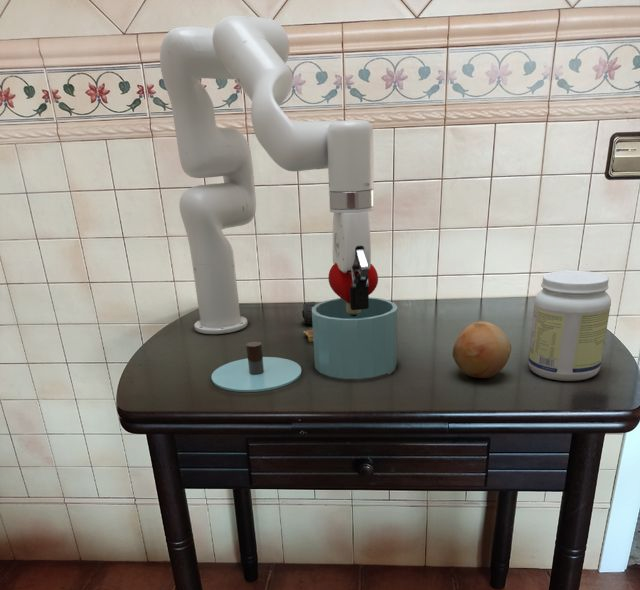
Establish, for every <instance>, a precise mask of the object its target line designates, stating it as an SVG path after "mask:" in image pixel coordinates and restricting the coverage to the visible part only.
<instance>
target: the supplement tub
mask: <svg viewBox="0 0 640 590" xmlns="http://www.w3.org/2000/svg"><path fill="white" fill-rule="evenodd" d="M609 278H610V277H609V276H608V275H607V274H603V273H600V272H596V271H589V270H556V271H551V272H547V273H544V274H543V275H542V281H541V284H540V287H541V288H542V289H540V290H539V291H538V292H537V294H536V296H535V297H534V301H533V302H534V303H533V304H534V305H533V312H532V313H533V315H532V322H531V331H530V340H529V350H528V351H529V352H528V359H527V362H528V366H529V369H530V371H532V373H534V374H535V375H537V376H539V377H541V378H545V379H549V380H554V381H560V382H561V381H562V382H577V381H578V382H579V381H583V380H588V379H590V378H593V377H594V376H596V375H597V374H598V373H599V371H600V369H601V366H602V360H603V353H604V347H605V343H606V342H605V341H606V336H607V329H608V325H609V324H608V323H609V318H610V312H611V306H612V303H611V302H612V298H611V296H610V294H609V293H608V292H606V291H607V290H608V289H609V282H610V281H609V280H610V279H609Z"/></svg>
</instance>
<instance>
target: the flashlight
mask: <svg viewBox="0 0 640 590" xmlns="http://www.w3.org/2000/svg"><path fill="white" fill-rule="evenodd" d="M318 303H319V302H315V301H310V302H306V303H303V304H302V307H303V309H302V311H301V313H302V314H301V315H302V319H303V321H304V325H308V326H313V323H312V307H314V306H315V305H316V304H318Z"/></svg>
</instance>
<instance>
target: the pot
mask: <svg viewBox="0 0 640 590" xmlns="http://www.w3.org/2000/svg"><path fill="white" fill-rule="evenodd" d="M317 303H318V304H316V305H315V306H314V307H312V323H313V325H312V329H313V341H314V342H313V357H314V358H313V359H314V369H315V370H316V371H318V373H320V374H322V375H325V376H327V377H331V378H337V379H342V380H343V379H344V380H361V379H369V378H376V377H379V376H382V375H387V374H388V375H390V374H392V373H393V372H395V370H396V369H397V364H398V305H397V304H396V303H395V302H394V301H392V300H389V299H384V298H380V297H370V296H369V307H368V309H361V312H360V313H359V314H357V316H351V315H350V314H349V313H347V312H346V311H347V310H346V309H347V308H346V307H347V306H346V301H345V300H343V299H341V298H340V297H339V298H338V297H337V298H332V299H327V300H324V301H321V302H317Z"/></svg>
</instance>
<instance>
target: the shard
mask: <svg viewBox="0 0 640 590" xmlns="http://www.w3.org/2000/svg"><path fill="white" fill-rule="evenodd" d="M303 334H304V335H305V336H306V337H307V340H308V342H309V343H314V341H313V328H311V329H307V330H303Z"/></svg>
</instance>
